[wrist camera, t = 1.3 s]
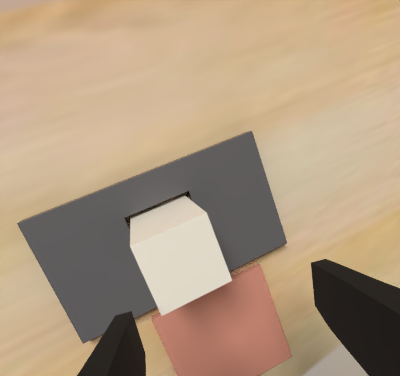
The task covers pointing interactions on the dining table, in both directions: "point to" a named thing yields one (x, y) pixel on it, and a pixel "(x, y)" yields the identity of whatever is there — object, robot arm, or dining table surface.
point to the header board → (120, 231)
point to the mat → (226, 330)
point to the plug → (177, 253)
